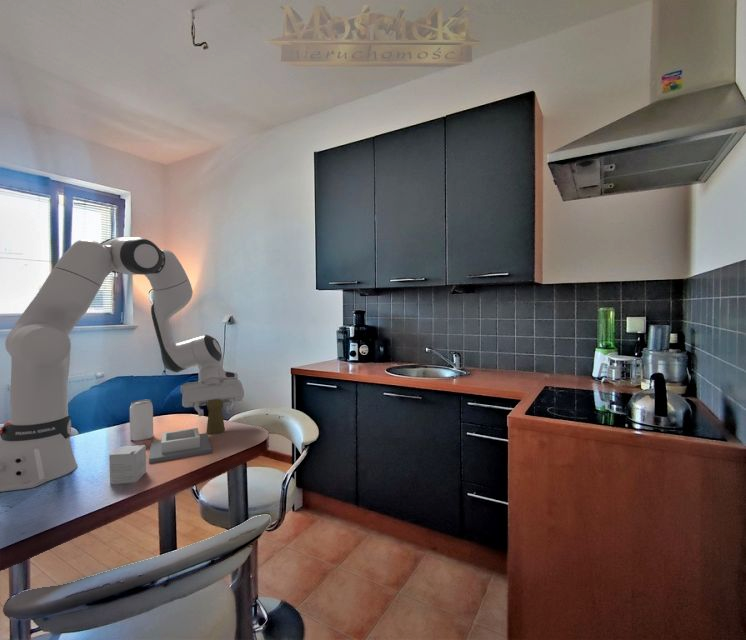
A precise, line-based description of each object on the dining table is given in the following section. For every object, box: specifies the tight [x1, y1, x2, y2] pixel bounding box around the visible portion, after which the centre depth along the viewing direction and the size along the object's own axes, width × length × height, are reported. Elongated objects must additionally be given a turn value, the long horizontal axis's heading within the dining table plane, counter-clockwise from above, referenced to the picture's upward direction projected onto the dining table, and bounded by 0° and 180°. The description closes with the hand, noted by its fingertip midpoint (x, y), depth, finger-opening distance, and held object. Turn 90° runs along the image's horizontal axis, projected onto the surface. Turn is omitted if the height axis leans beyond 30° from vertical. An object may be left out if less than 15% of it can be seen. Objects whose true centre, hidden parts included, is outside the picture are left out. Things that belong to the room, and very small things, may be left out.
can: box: [129, 399, 154, 442], centre depth 124 cm, size 6×6×12 cm
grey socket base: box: [148, 427, 213, 464], centre depth 115 cm, size 16×16×4 cm
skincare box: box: [108, 444, 147, 485], centre depth 95 cm, size 6×6×7 cm
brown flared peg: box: [205, 399, 226, 436], centre depth 130 cm, size 6×6×11 cm
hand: (215, 413), depth 130 cm, fingers open, 8 cm apart
